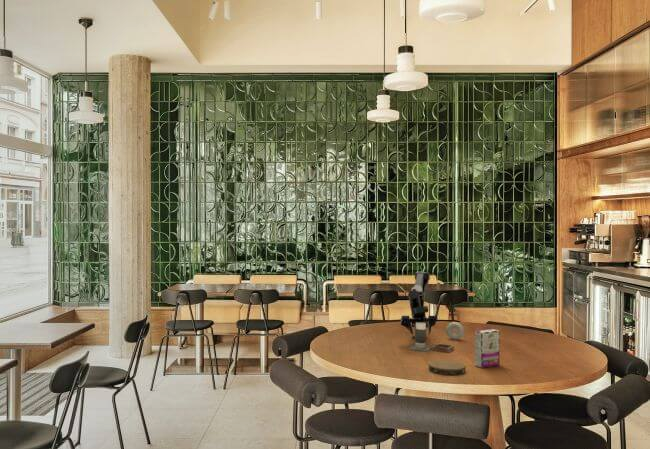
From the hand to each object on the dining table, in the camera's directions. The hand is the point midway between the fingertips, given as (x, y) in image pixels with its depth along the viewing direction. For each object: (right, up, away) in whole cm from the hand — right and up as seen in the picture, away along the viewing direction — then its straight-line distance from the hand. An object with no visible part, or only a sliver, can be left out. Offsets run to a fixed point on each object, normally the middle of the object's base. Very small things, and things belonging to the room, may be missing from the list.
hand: (421, 333), depth 299 cm
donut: (+24, -8, +27) cm, 37 cm away
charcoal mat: (0, -8, +1) cm, 8 cm away
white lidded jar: (0, -7, +1) cm, 8 cm away
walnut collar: (+11, -8, -1) cm, 14 cm away
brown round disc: (+4, -9, -43) cm, 44 cm away
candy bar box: (+25, -9, -33) cm, 42 cm away
